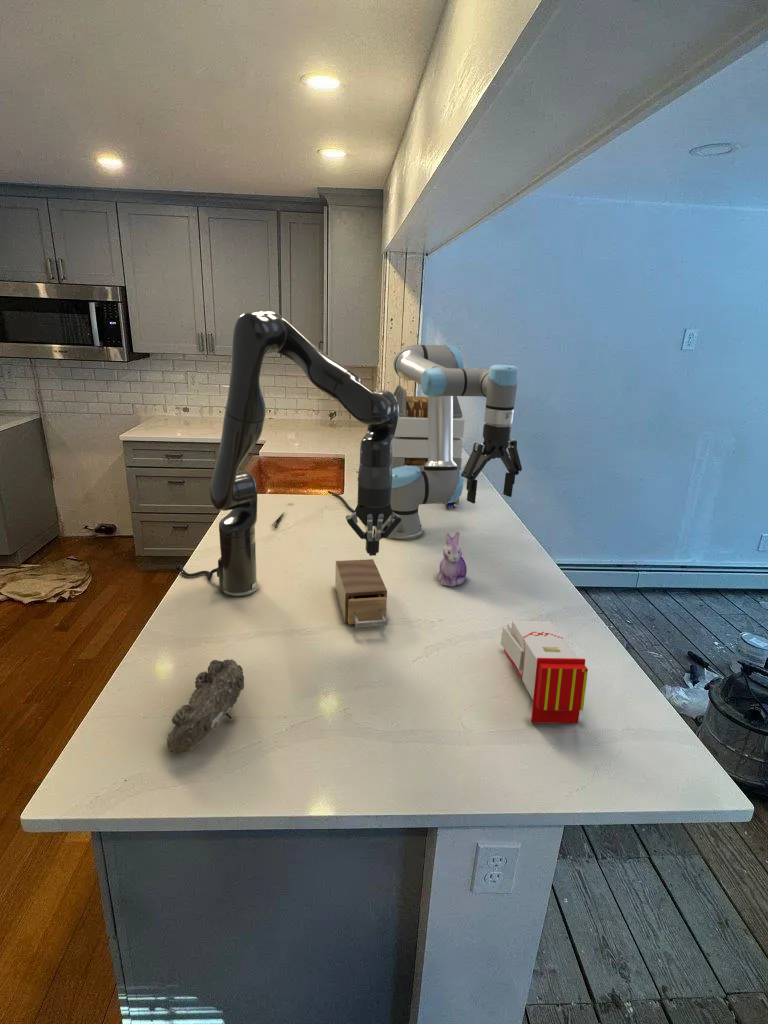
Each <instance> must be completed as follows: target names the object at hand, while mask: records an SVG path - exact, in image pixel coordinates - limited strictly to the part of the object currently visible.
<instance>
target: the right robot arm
mask: <svg viewBox="0 0 768 1024" xmlns="http://www.w3.org/2000/svg"><path fill="white" fill-rule="evenodd" d="M393 369H394V373H395V374H396V375H397V376H398V377H399V378H401V379H402V380H404V381H407V382H408V381H413V382H414V383H416V384H418V385H420V388H421V391H422V394H423V395H424V396H426V397H428V462H427V463H426V464H425V465H424V466H423V470H422V469H421V467H420V466H407V465H404V466H401V467H397V468H394V469H392V492H391V507H392V509H393V512H394V513H395V514H398V515H399V516H400V518H401V522H400V523H399V524H398V525H397V526H396V527H395V529H394V530H393V531H392V532H391V533H390V535H389V536H388V537H387V538H386V539H389V540H395V541H410V540H415V539H418V538H420V537H421V536H422V535H423V530H424V527H423V524H421V518H420V515H419V507H420V505H435V504H438V505H439V504H443V505H444V504H446V503H453V502H456V501H457V500H458V499H459V500H460V497H461V496H462V493H463V490H464V483H465V482H464V481H465V480H464V479H466V487H465V488H466V491H467V495H466V501H467V502H469V503H471V504H476V498H477V490H478V480H477V478H478V476H479V474H480V473H481V472H482V470H483V469H484V468H485V466H486V465H487V463H488V462H490V461H491V460H495V459H500V460H501V461H502V463H503V465H504V466H505V468H506V470H507V472H505V475H504V483H503V492H502V494H503V496H506V497H509V498H512V496H513V489H514V485H515V482H516V476H518V475H519V474H520V472H521V471H523V467H522V464H521V459H520V455H519V451H518V441H517V440H515V439H512V438H511V437H512V428H513V427H512V424H513V420H514V412H515V410H514V409H515V404H516V397H517V389H518V384H519V379H518V378H519V369H518V367H517V366H515V365H509V364H492V365H491V366H490V367H489V368H488V367H475V368H465V362H464V358H463V354H462V352H461V351H460V349H459V348H458V347H456V346H454V345H447V344H410V345H407V346H405V347H403V348H401V349H400V350H399V351H398V352H397V353H396V355H395V356H394V359H393ZM453 396H457V397H482V398H485V399H486V401H485V408H484V409H485V410H484V419H483V422H484V424H483V428H482V437H483V441H482V443H479V442H474V443H473V446H472V451H471V453H470V456H469V458H468V460H467V461H466V464H465V465H464V467H463V470H461V471H460V470H458V469H457V464H456V463H455V462H454V461H453ZM327 494H330V495H332V496H334V497H337V498H339V500H340V501H341V502H342V503H343V504H344V506H345V507H346V508H347V509H348V510H349V511H350V512H352V514H353V513H354V512H355V509H353V508H352V507H350V506H349V504H348V503H347V501H346V500H345V499H344V498H343V497H342V496H341V495H339V494H337V493H336V492H333V491H330V490H328V491H327ZM389 518H390V517H389ZM389 518H388V519H387V521H386V522H385V523H384V524H383V525H382V529H383V528H384V527H385V525H386V524H387V523H388V522H389V521H390V520H389Z"/></svg>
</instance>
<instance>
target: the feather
mask: <svg viewBox="0 0 768 1024" xmlns="http://www.w3.org/2000/svg"><path fill="white" fill-rule="evenodd" d="M290 505H291V503H290ZM284 514H285V512H283V513H282V514H281V515H279V516H278V518H277V519H276V520H275V521H274V522H273V525H274V529H276V528H277V526H278V525H279V522H280V521H281V519H282V517H283V515H284Z"/></svg>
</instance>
